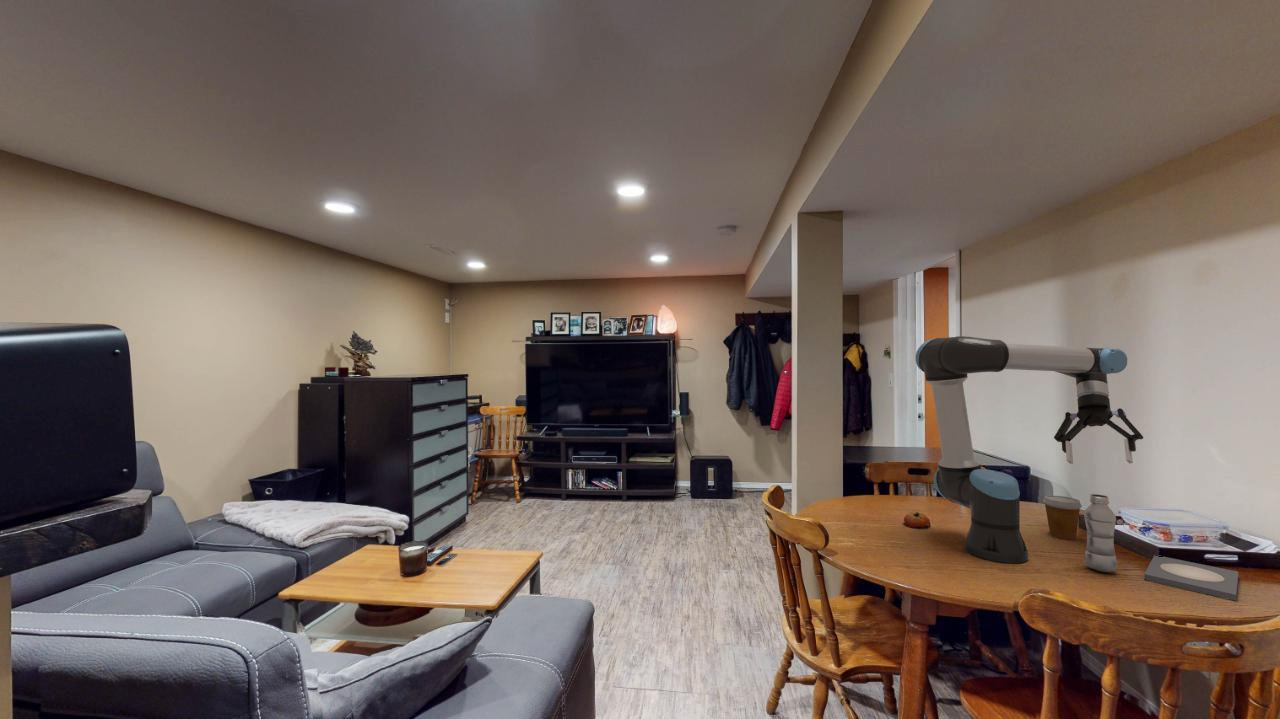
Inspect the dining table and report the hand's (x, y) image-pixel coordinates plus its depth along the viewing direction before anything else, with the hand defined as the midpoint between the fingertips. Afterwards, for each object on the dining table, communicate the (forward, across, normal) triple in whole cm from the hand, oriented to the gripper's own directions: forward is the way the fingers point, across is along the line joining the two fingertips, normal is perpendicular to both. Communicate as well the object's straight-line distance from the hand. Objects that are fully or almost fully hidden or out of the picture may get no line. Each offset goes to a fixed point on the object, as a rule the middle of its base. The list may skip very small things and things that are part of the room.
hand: (1098, 462), depth 148 cm
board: (+30, -15, -5) cm, 34 cm away
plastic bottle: (+33, 0, +6) cm, 34 cm away
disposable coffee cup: (+20, +14, -15) cm, 28 cm away
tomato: (+27, +47, +11) cm, 55 cm away
